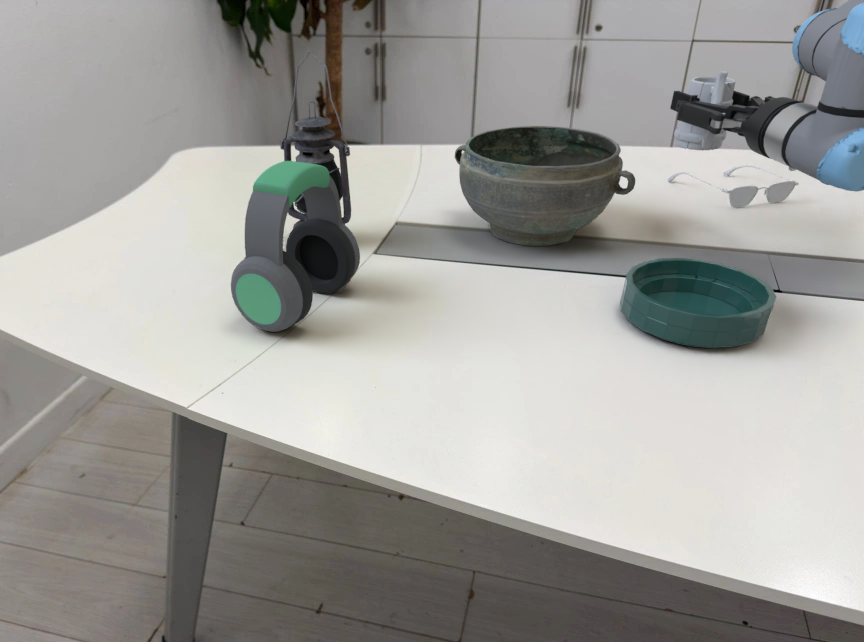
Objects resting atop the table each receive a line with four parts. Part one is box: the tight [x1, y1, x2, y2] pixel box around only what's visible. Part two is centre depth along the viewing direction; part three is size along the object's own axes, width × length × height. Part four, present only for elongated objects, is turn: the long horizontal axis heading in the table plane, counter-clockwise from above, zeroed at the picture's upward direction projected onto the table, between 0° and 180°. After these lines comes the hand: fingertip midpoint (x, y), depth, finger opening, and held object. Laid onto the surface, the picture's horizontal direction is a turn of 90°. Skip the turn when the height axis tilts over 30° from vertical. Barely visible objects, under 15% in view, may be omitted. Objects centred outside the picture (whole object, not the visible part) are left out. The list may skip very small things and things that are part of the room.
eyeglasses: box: [667, 164, 800, 208], centre depth 131 cm, size 15×18×4 cm
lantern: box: [279, 49, 352, 229], centre depth 108 cm, size 12×11×30 cm
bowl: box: [454, 125, 636, 247], centre depth 114 cm, size 32×26×15 cm
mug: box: [673, 71, 736, 151], centre depth 105 cm, size 8×12×12 cm, turn 165°
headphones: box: [230, 160, 361, 333], centre depth 90 cm, size 19×11×20 cm, turn 151°
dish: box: [619, 257, 777, 349], centre depth 88 cm, size 18×18×5 cm
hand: (698, 98), depth 109 cm, fingers closed on mug, 7 cm apart
